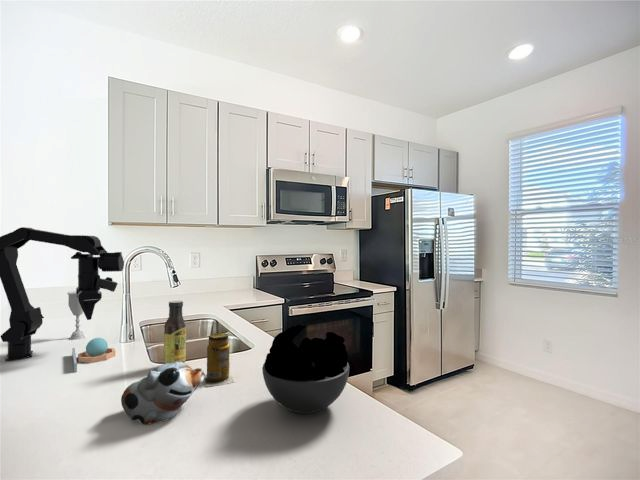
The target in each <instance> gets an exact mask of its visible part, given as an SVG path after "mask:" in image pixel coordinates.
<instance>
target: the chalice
mask: <svg viewBox="0 0 640 480" xmlns="http://www.w3.org/2000/svg"><path fill="white" fill-rule="evenodd" d="M66 293H67V295H68V300H67V301H68V302H67V303H68V308H69V310H70V311H71V313H72V314H73V316H75V318H76V319H75V325H74V326H75V331H73V332H72V333H71V335H70V337H69V339H70V340H80V338H81V339H84V338H86V335H85V334H84V331H83V330H81V329H80V327H81V324H80V321H81V319H80V316H82V315H83V314H84V312H83V310H82V308H81V306H80V303H79V301H78V298H77V295H78V294H76V290H73V291H68V292H66ZM83 337H84V338H83Z"/></svg>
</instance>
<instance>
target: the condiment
mask: <svg viewBox="0 0 640 480" xmlns="http://www.w3.org/2000/svg"><path fill="white" fill-rule="evenodd" d="M206 354H207V355H206V373H205V376H204V379H203V382H204V384H205V387H213V386H220V385H226V384H230V383H232V384H233V383H235V381H234V378H233V377H232V375H231V373H230V344H229V335H228V334H227V333H223V332H217V333H212V334H210V335H209V336H208V345H207V347H206Z"/></svg>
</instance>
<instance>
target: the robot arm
mask: <svg viewBox="0 0 640 480" xmlns="http://www.w3.org/2000/svg"><path fill="white" fill-rule="evenodd" d="M30 241H34V242H38V243H40V242H41V243H46V244H51V245H52V244H53V245H59V246H64V247H68V248H70V249H71V250H75V251H77V252H75V254H73V255H72V256H71V257H70V259H71V260H77V262H78V263H77V265H78V269H77V272H78V274H77V280H78V281H77V285H78V286H77V287H76V288H75V291H76V294H78V295H77V298H78V301H79V303H80V306H81V308H82V310H83V315H84V316H85V318H86V320H87V321H88V320H89V321H90V320H92V318H93V314H94V309H95V306H96V304H97V303H99V301H101V299H102V296H103V295H102V291H100V290H101V289H103V290H107V291H110V292H111V293H112V292H115V291H116V288H117V286H118V282H117V281H113V277H109V276H107V277H105V278H101V276H100V274H99V270H101V271H102V272H122V271H123V270H124V267H125V260H124V257H123V253H122V251H115V252H108V251H107V250H106V249H105V248H104V247H103V245H102V242H101V239H99V237H98V236H97V235H96V236H95V235H84V234H83V235H75V234H73V235H71V234H67V233H66V234H64V233H59V232H53V231H47V230H40V229H35V228H32V227H25V226H24V227H18V228H16V229H15V230H14V231H12V232H11V231H10V232H8V233H6V234H3V235H0V281H1V284H2V287H3V290H4V292H5V295H6V299H7V301H8V304H9V306H10V307H9V308H10V314H9V319H8V320H9V321H8V322H9V328H8V329H7V330H6V331H4V332H3V333H2V334H1V335H0V339H1V341H2V343H7V354H6V356H5V358H4V361H5V362H7V361H14V360H19V359H20V360H21V359H25V358H32V357H33V354H34V350H32V336H33V335H36V334H37V333H36V332H37V331H38V330H39V329H40V327H41V326H42V325H43V323H44V322H43V319H44V318H45V317H44V316H43V314H42V309H41V307H40V306H38V307H34V305H32V304H31V303H30V300H29V297H28V294H27V292H26V288H25V286H24V282H23V279H22V277H21V274H20V271H19V269H18V265H17V261H18V258H19V251H18V249H20V248H22V247H23V246H25V245H26V244H27V243H29V242H30Z"/></svg>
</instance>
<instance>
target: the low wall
mask: <svg viewBox="0 0 640 480" xmlns="http://www.w3.org/2000/svg"><path fill="white" fill-rule="evenodd" d="M71 350H72V351H71V354H72V355H71V356H72V363H73V372H74V373H77V372H78V363H77V362H78V359H77V354H76V349H75V347H72V349H71Z"/></svg>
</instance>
